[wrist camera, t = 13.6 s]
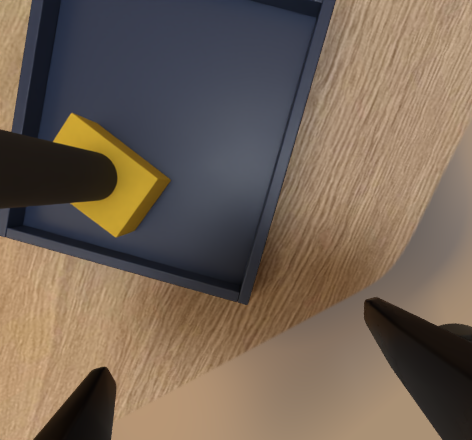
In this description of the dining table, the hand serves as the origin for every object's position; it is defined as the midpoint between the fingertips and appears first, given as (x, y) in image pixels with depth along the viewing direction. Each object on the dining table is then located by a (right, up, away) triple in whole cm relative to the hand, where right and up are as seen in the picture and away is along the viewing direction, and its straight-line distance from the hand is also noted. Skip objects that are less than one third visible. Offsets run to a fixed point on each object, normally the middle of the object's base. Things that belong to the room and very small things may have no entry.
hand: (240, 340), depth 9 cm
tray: (-6, +11, +12) cm, 17 cm away
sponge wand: (-9, +7, +12) cm, 17 cm away
